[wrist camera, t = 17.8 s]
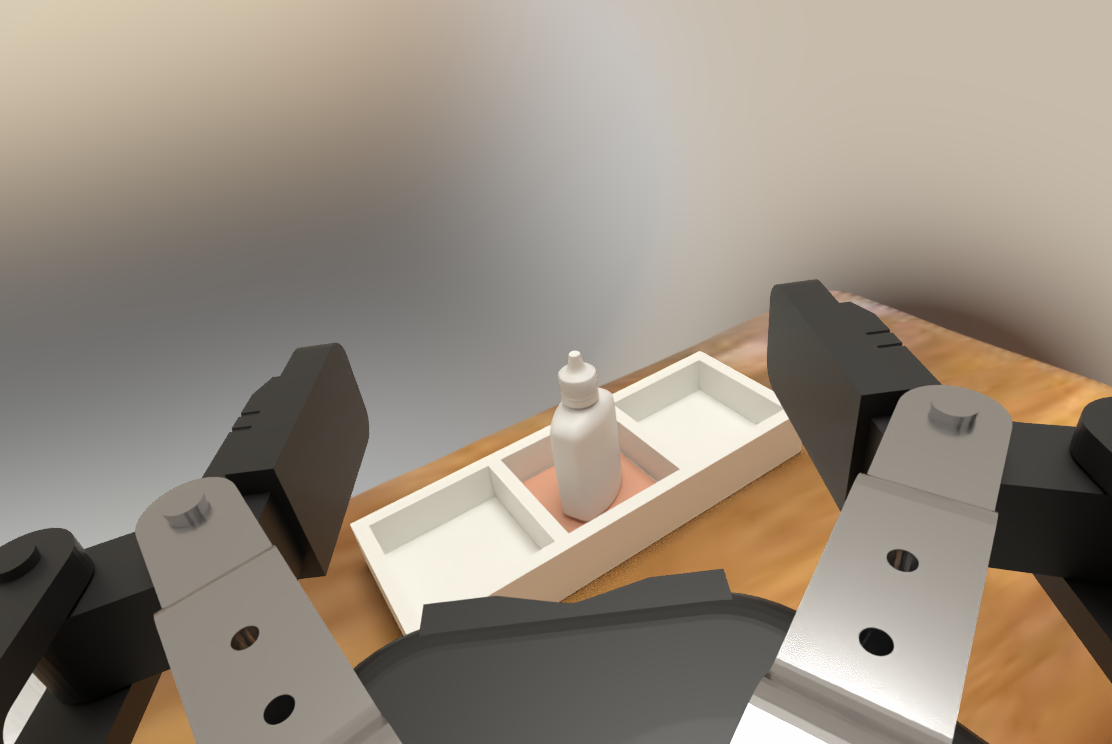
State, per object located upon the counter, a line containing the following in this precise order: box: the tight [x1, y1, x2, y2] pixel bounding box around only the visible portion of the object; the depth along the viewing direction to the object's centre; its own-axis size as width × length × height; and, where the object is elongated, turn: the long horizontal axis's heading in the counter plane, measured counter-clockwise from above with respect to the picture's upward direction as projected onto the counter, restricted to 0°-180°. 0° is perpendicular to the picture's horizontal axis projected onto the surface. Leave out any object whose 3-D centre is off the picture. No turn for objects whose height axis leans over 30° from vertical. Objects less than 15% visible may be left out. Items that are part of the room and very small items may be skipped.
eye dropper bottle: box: [550, 351, 622, 521], centre depth 44 cm, size 4×6×12 cm
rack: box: [350, 351, 802, 636], centre depth 47 cm, size 31×11×4 cm, turn 122°
